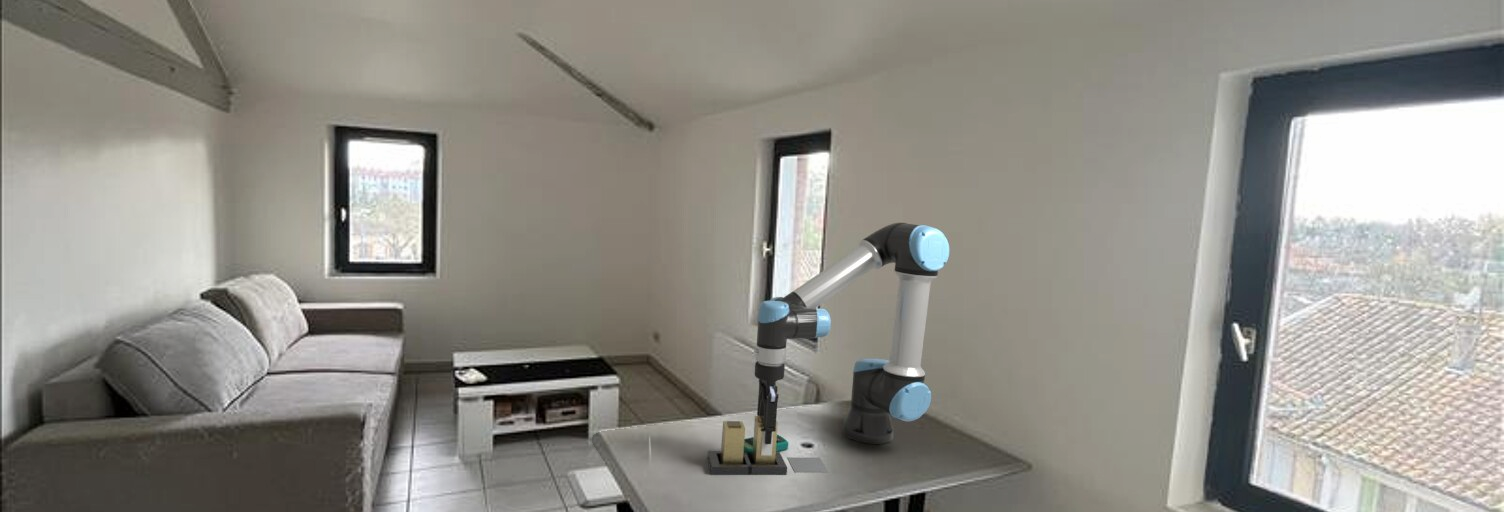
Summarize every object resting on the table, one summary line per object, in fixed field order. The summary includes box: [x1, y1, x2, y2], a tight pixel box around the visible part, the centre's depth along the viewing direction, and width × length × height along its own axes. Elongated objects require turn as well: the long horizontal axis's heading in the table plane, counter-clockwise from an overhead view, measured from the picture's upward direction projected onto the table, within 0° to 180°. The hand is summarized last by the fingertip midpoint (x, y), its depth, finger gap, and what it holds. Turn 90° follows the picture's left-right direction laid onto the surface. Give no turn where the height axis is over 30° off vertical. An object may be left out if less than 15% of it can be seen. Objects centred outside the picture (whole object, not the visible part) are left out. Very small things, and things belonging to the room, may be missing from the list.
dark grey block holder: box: [707, 450, 788, 476], centre depth 174 cm, size 19×10×2 cm, turn 100°
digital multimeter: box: [744, 434, 789, 452], centre depth 185 cm, size 7×15×3 cm, turn 127°
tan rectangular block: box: [752, 415, 779, 465], centre depth 174 cm, size 5×5×11 cm
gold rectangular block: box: [720, 420, 746, 465], centre depth 173 cm, size 5×5×11 cm
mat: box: [786, 456, 830, 474], centre depth 178 cm, size 9×9×1 cm
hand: (764, 450), depth 174 cm, fingers closed on tan rectangular block, 5 cm apart
